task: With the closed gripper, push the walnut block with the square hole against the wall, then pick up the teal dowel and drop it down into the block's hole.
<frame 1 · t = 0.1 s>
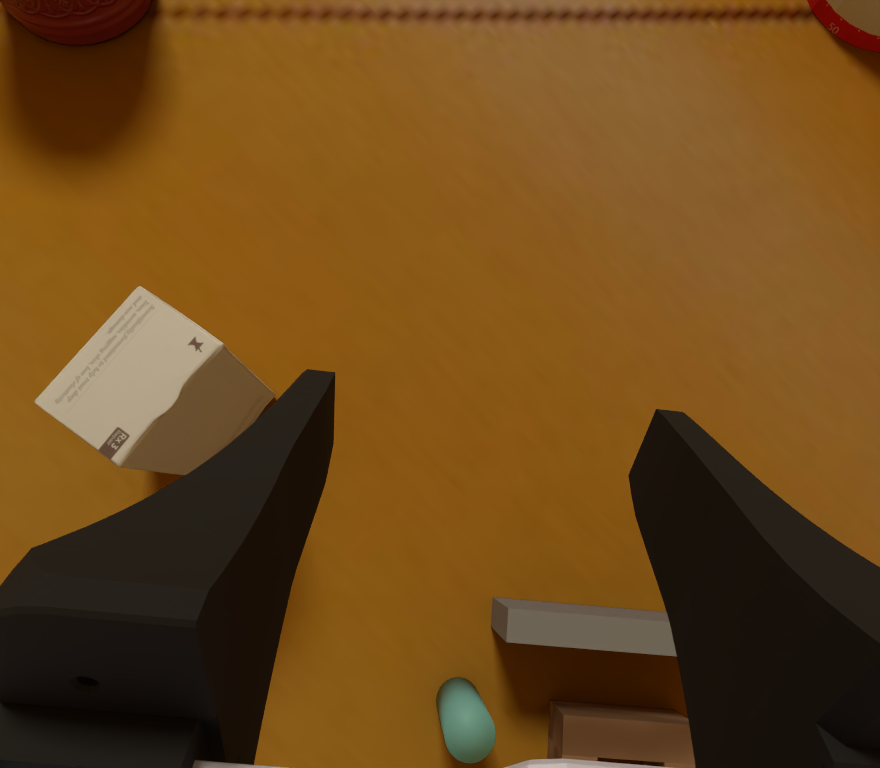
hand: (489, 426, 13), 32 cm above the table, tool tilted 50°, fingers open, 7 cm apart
backstop wall: (627, 623, 43), on the table
dowel: (457, 700, 41), on the table
skincare box: (214, 418, 45), on the table
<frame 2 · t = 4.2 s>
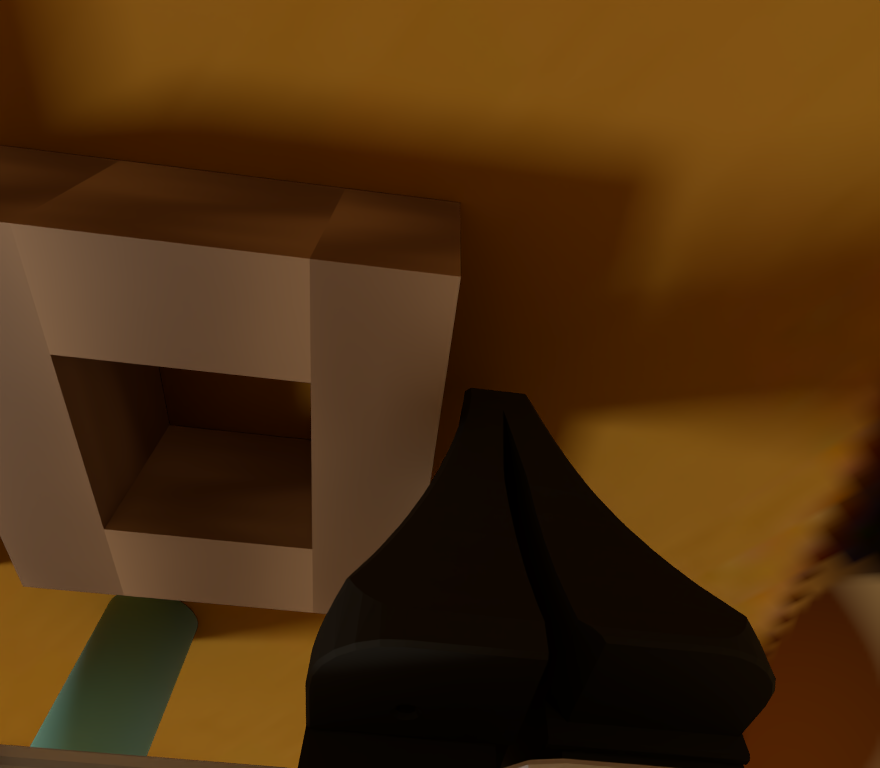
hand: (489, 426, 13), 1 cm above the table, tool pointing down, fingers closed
hole block: (249, 364, 14), on the table, touching gripper
dowel: (153, 617, 20), on the table
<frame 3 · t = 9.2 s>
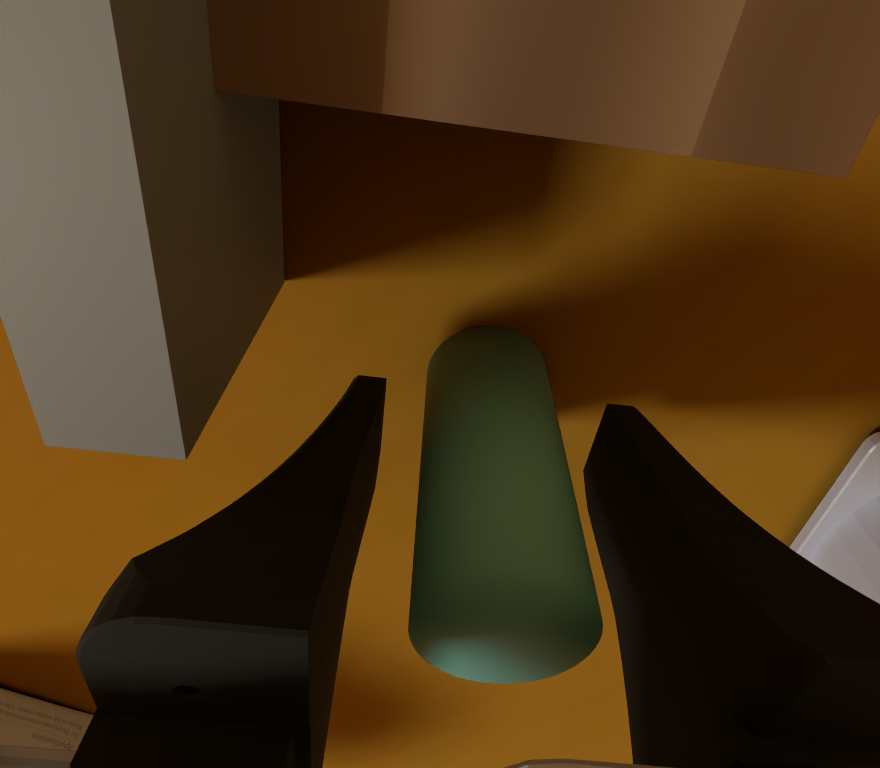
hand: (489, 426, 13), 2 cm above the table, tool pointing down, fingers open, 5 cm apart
dowel: (486, 377, 15), on the table
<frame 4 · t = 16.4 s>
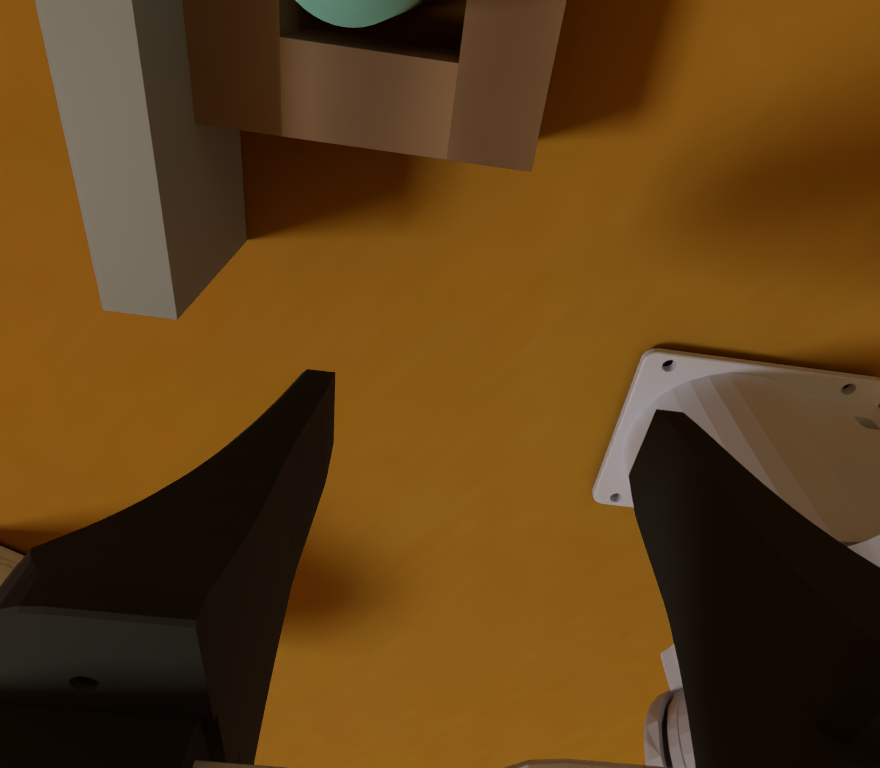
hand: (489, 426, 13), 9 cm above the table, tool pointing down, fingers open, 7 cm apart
skincare box: (39, 583, 33), on the table
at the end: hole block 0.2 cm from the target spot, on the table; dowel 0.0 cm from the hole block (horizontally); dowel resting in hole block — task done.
